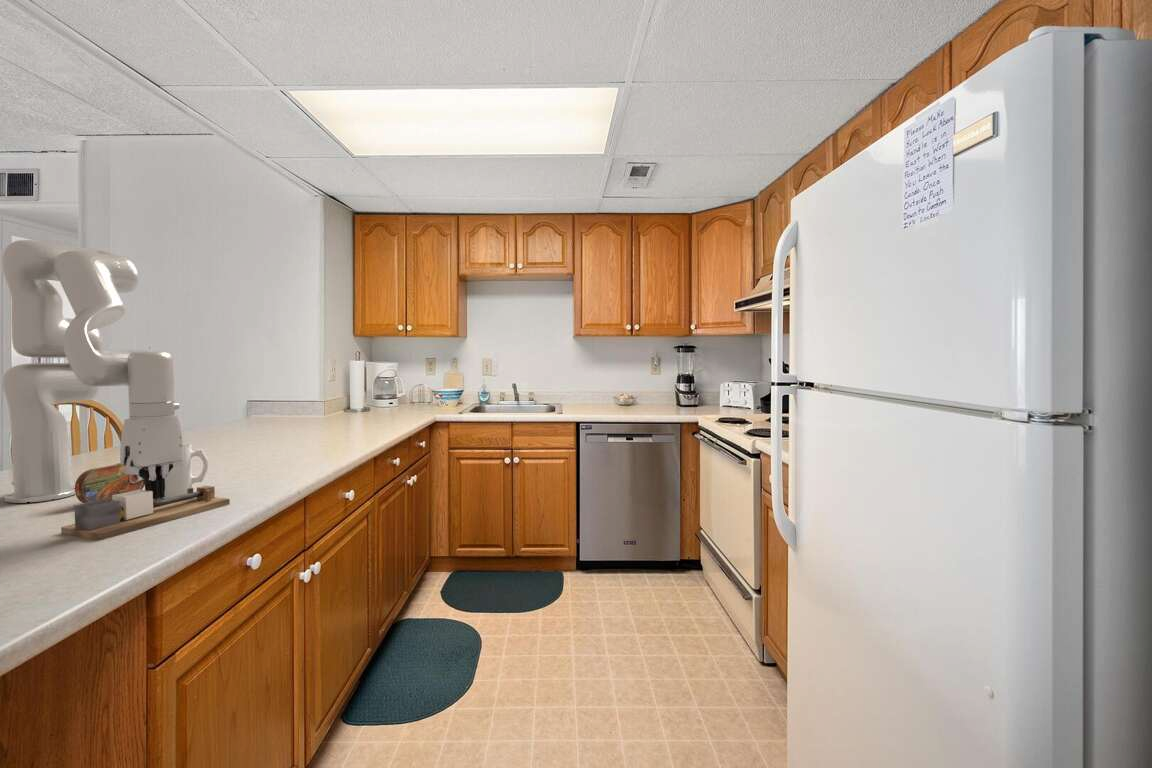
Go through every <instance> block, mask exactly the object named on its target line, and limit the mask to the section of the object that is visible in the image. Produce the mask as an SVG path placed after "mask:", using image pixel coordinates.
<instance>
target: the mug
mask: <svg viewBox="0 0 1152 768" xmlns="http://www.w3.org/2000/svg"><path fill="white" fill-rule="evenodd" d="M192 446H193V445H192V444H189V443H183V457H182V458H181V461H182V464H181V465H179V466H177V467H174V468H172V469H171V471H170V472H169V473H168V476H167V478H165V496H164V497H163V498H161V500H164V499H168V498H172V497H177V496H181V495H185V494H187V489H188V488H193V487H192V486H193V484H195V483H202V482H203V481H204V479H205V477H206V474H207V473H208V469H209V460H208V458H207V456H206V454H205V451H204V450H203V448H202V449H196V450H195V451H193V450H192ZM194 457H199V458H200V459H201V461H202V465H203V466H202V470H201V473H200V474H199V475H197V476H193V474H192V473H193V472H192V471H193V470H192V464H193V463H192V458H194Z"/></svg>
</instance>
